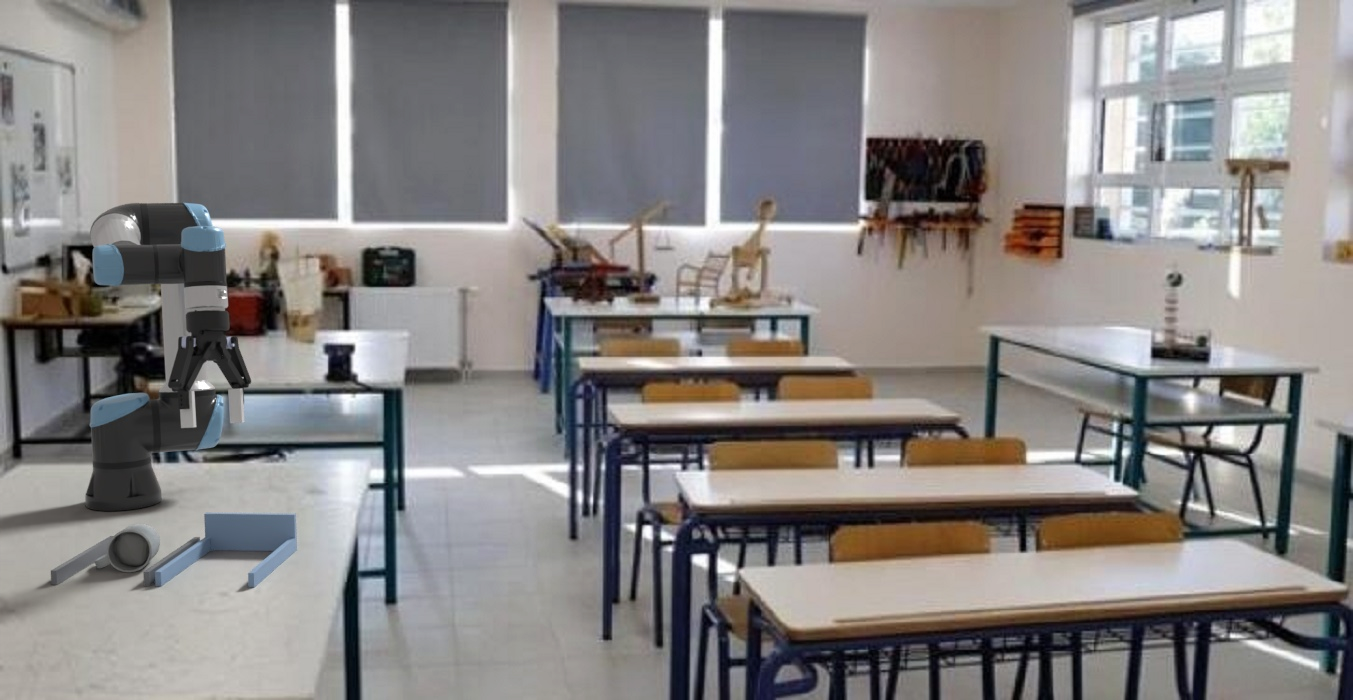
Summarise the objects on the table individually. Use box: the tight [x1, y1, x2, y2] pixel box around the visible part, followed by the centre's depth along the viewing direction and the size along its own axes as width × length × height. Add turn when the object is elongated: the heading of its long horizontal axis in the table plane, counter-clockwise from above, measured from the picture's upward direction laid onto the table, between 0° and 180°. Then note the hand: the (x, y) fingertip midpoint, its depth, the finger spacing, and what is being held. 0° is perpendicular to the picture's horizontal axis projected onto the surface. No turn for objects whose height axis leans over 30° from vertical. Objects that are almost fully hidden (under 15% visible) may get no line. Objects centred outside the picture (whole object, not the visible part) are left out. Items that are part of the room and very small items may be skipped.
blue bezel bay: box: [155, 512, 298, 588], centre depth 226 cm, size 23×17×7 cm
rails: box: [50, 535, 201, 587], centre depth 226 cm, size 22×17×2 cm
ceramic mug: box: [93, 523, 161, 573], centre depth 226 cm, size 11×8×8 cm
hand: (213, 425), depth 232 cm, fingers open, 13 cm apart
